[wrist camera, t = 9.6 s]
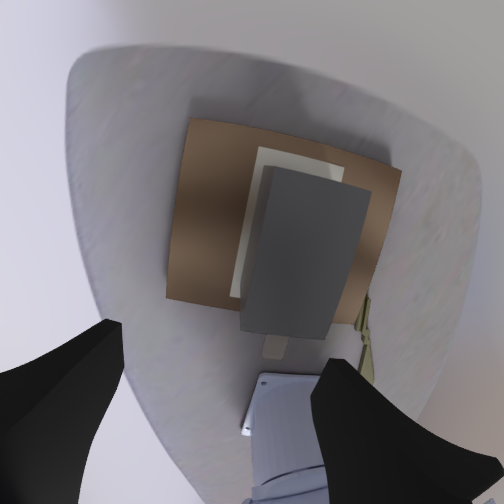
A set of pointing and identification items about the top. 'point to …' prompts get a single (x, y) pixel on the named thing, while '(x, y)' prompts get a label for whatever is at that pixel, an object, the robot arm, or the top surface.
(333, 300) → the block
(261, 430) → the robot arm
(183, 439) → the top surface
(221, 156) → the pin board
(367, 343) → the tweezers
